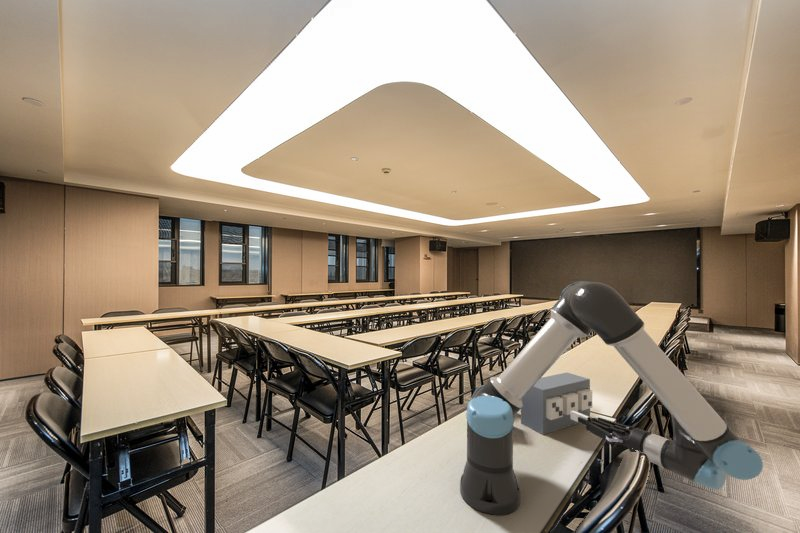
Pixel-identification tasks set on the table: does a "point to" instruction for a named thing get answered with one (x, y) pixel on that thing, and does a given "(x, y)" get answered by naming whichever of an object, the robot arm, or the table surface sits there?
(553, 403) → the three dot tile
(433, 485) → the table surface
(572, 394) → the one dot tile
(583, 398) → the two dot tile
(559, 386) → the tile console
